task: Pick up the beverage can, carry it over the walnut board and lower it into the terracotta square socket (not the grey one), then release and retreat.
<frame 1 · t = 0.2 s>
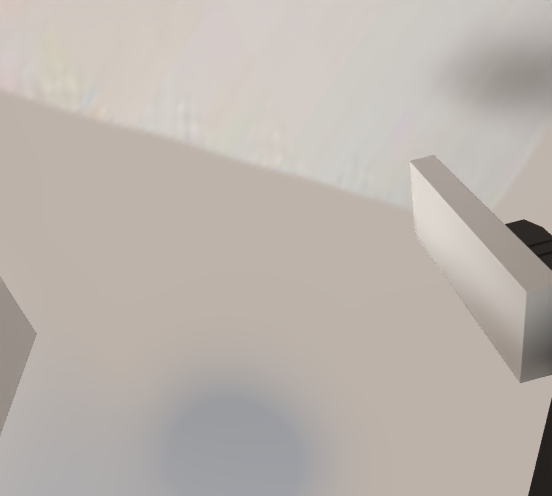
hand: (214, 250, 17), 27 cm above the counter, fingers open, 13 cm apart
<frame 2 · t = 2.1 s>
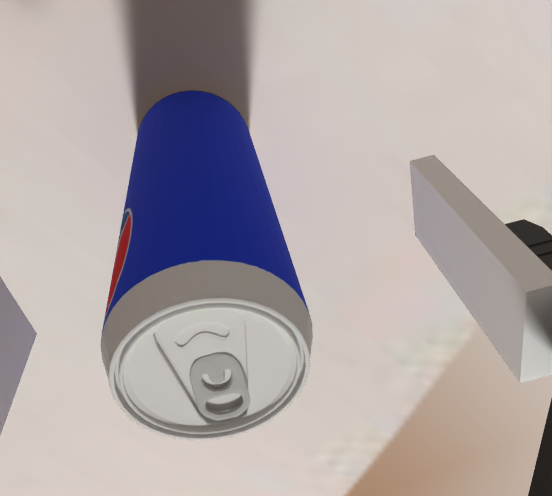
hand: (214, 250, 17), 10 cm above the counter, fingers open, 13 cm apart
beverage can: (194, 140, 25), on the counter
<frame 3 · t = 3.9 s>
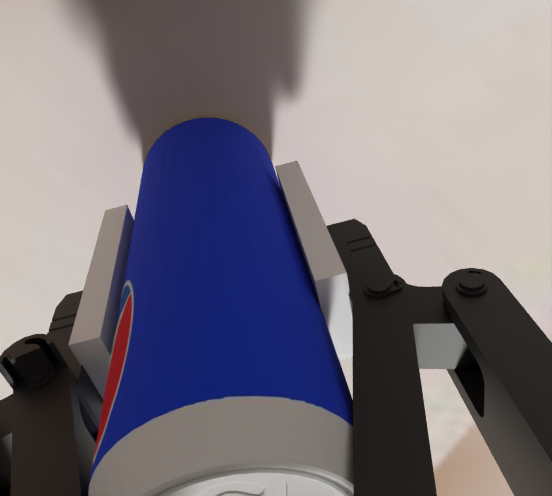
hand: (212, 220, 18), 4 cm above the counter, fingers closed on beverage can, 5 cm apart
beverage can: (208, 172, 21), on the counter, touching gripper
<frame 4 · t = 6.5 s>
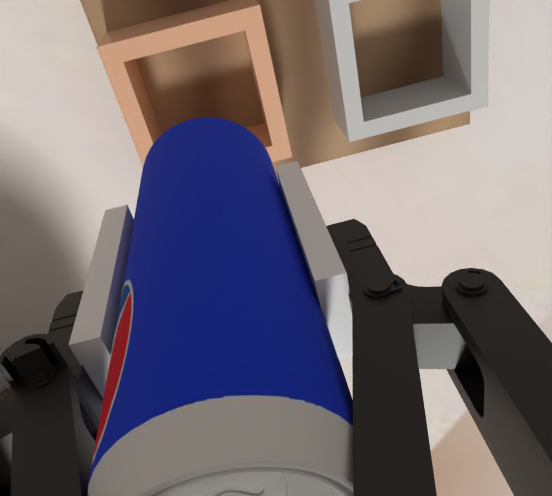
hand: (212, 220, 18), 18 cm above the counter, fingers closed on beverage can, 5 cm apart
walnut board: (291, 56, 33), on the counter
terracotta socket: (200, 86, 32), resting on walnut board
beverage can: (208, 172, 21), point 14 cm above the counter, touching gripper
grey socket: (390, 37, 32), resting on walnut board
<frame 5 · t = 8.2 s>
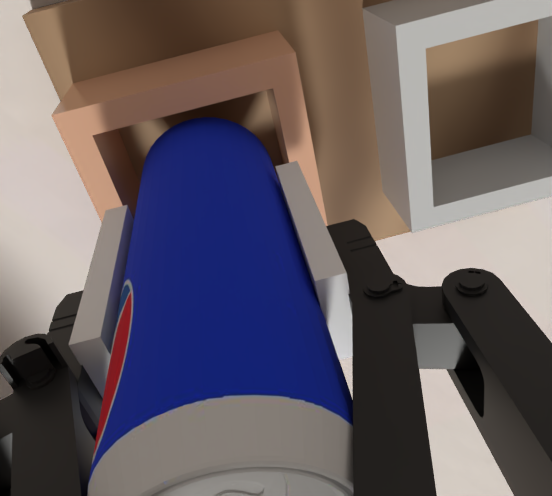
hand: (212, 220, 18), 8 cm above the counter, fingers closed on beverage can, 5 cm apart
walnut board: (328, 108, 25), on the counter
terracotta socket: (205, 152, 23), resting on walnut board
beverage can: (208, 172, 21), point 4 cm above the counter, touching gripper
grey socket: (465, 85, 23), resting on walnut board
when the fingers open (7 cm above the counter, at t = 9.2 s): beverage can drops 1 cm, resting on walnut board.
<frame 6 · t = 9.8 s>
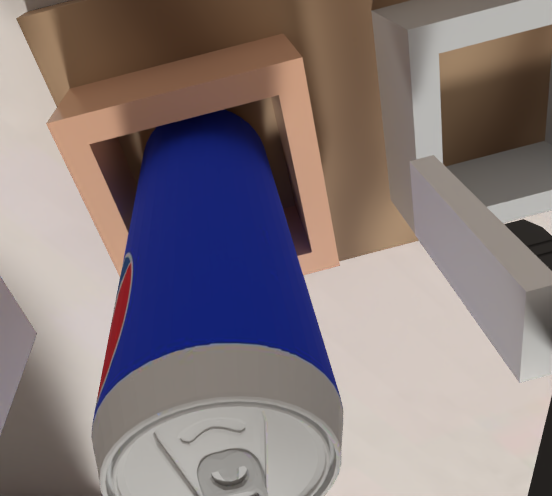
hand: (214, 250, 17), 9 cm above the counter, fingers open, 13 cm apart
walnut board: (334, 114, 24), on the counter
terracotta socket: (207, 160, 23), resting on walnut board
beverage can: (205, 158, 23), point 1 cm above the counter, touching walnut board
grey socket: (477, 90, 23), resting on walnut board
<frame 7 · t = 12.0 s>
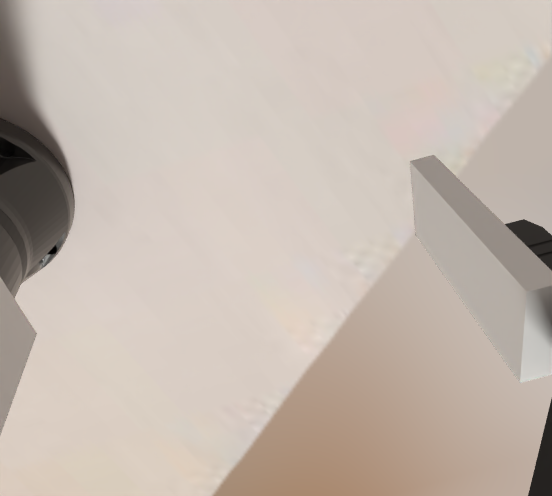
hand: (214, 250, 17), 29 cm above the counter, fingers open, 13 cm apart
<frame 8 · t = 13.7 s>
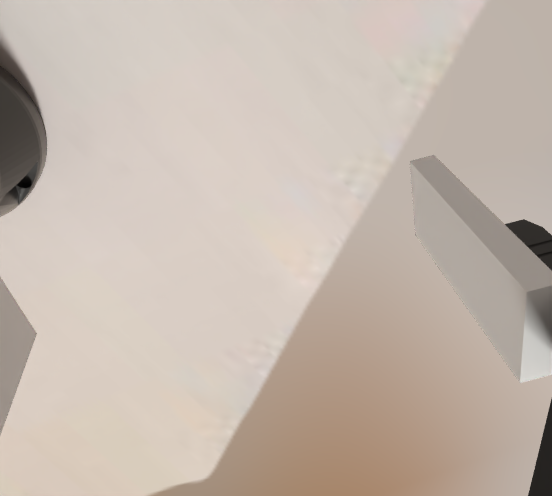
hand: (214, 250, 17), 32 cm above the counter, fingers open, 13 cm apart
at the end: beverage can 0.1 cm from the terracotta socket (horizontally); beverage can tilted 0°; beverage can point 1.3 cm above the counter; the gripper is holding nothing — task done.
